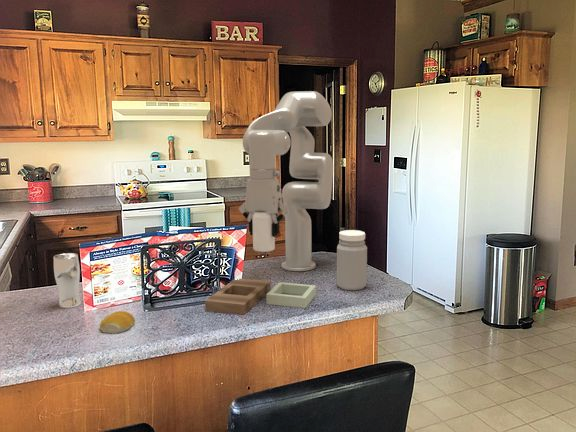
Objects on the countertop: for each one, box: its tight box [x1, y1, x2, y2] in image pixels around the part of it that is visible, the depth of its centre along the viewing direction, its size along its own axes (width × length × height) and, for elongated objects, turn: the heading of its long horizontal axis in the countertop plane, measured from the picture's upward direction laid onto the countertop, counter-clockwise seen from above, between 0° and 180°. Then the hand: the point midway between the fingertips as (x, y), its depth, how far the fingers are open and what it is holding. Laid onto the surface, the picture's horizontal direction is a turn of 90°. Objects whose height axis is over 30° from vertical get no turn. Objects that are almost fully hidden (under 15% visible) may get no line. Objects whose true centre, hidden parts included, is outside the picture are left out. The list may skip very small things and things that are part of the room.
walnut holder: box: [204, 278, 272, 316], centre depth 156 cm, size 22×12×3 cm, turn 162°
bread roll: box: [99, 310, 136, 334], centre depth 136 cm, size 8×9×4 cm
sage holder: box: [265, 281, 317, 309], centre depth 156 cm, size 12×12×3 cm
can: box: [252, 211, 276, 253], centre depth 152 cm, size 6×6×12 cm
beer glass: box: [52, 252, 82, 309], centre depth 152 cm, size 7×7×15 cm
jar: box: [336, 229, 368, 291], centre depth 166 cm, size 10×10×18 cm
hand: (264, 234), depth 153 cm, fingers closed on can, 6 cm apart
